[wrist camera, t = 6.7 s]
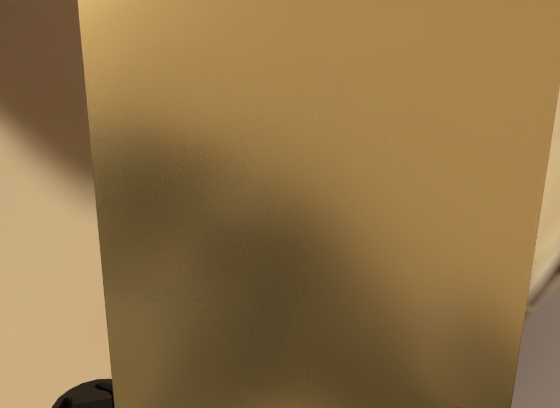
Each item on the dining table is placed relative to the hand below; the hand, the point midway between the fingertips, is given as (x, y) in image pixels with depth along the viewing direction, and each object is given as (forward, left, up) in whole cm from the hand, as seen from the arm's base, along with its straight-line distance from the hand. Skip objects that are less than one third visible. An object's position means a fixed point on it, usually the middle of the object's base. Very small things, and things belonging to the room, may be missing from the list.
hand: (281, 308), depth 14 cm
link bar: (0, 0, -1) cm, 1 cm away
